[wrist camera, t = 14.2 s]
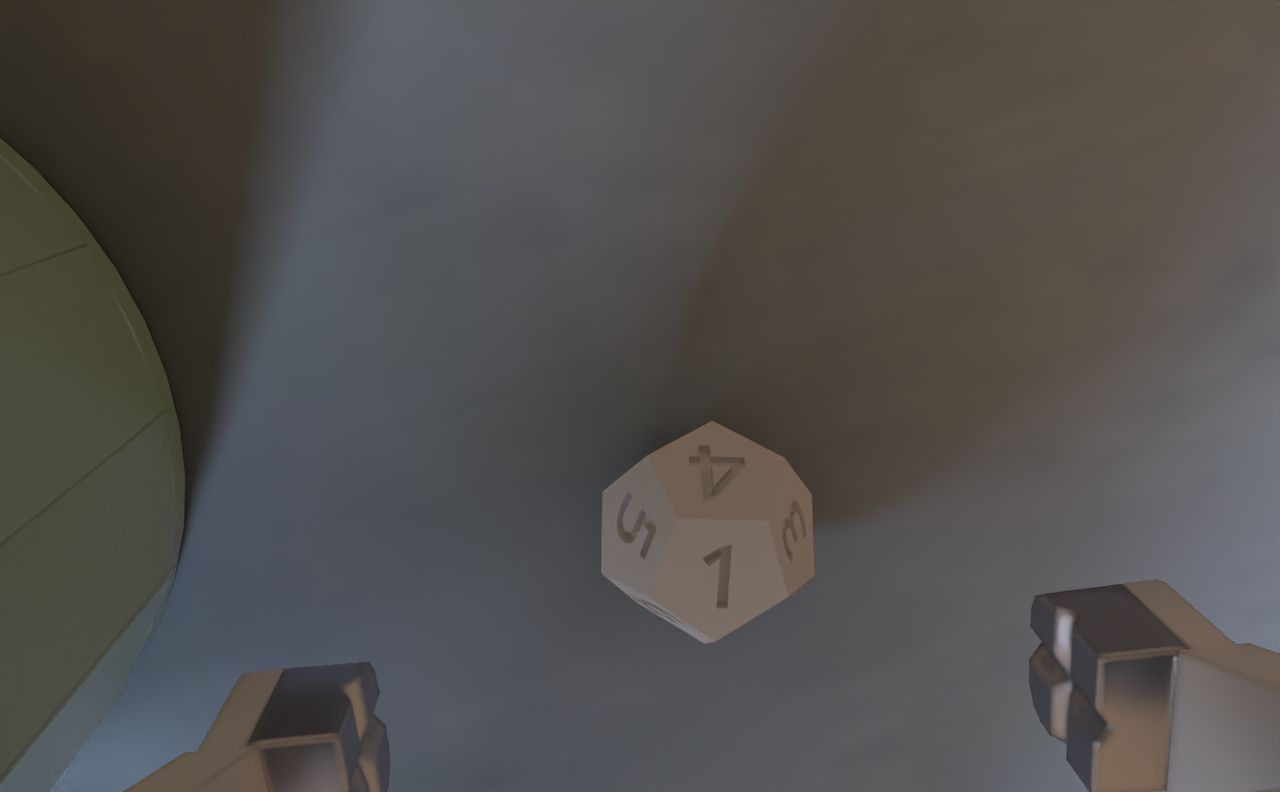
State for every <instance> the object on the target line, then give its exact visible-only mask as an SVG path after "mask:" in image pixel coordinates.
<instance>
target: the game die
mask: <svg viewBox="0 0 1280 792" xmlns="http://www.w3.org/2000/svg"><path fill="white" fill-rule="evenodd" d="M601 574H602V575H604V576H605V577H606V578H607V579H609V580H610V581H611V582H612V583H614V584H615V585H616V586H617V587H618V588H620V589H621V590H622V591H623V592H625V593H626V594H627V595H628V596H630V597H631V598H632V599H633V600H635V601H636V602H637V603H638V604H640V605H642V606H643V607H645V608H647V609H648V610H650V611H651V612H653V613H655V614H656V615H658V616H660V617H661V618H663V619H665V620H666V621H668V622H670V623H671V624H673V625H675V626H676V627H678V628H679V629H681V630H683V631H684V632H686V633H688V634H689V635H691V636H693V637H694V638H696V639H698V640H699V641H701V642H703V643H704V644H705V643H712V642H716V641H718V640H719V639H721V638H722V637H724V636H726V635H727V634H729V633H731V632H732V631H734V630H736V629H737V628H739V627H740V626H742V625H744V624H745V623H747V622H749V621H750V620H752V619H753V618H755V617H757V616H758V615H760V614H762V613H763V612H765V611H767V610H768V609H770V608H771V607H773V606H775V605H776V604H778V603H780V602H781V601H783V600H784V599H786V598H788V597H789V596H790V595H792V594H793V593H794V592H795V591H797V590H798V589H799V588H800V587H801V586H803V585H804V584H805V583H806V582H808V581H809V580H810V579H811V578H813V577H814V576H815V568H814V540H813V512H812V494H811V493H810V492H809V490H808V489H807V488H806V486H805V485H804V483H803V482H802V481H801V479H800V478H799V477H798V475H797V474H796V473H795V471H794V470H793V469H792V467H791V466H790V465H789V463H788V462H787V461H786V459H785V458H784V457H782V456H780V455H778V454H776V453H774V452H772V451H771V450H769V449H767V448H765V447H763V446H761V445H759V444H757V443H755V442H753V441H751V440H749V439H747V438H745V437H743V436H741V435H739V434H737V433H735V432H733V431H731V430H729V429H727V428H725V427H723V426H722V425H720V424H718V423H716V422H714V421H711V422H709V423H707V424H705V425H703V426H701V427H700V428H698V429H696V430H694V431H692V432H690V433H688V434H686V435H684V436H683V437H681V438H679V439H677V440H675V441H673V442H671V443H669V444H668V445H666V446H664V447H662V448H660V449H658V450H656V451H654V452H653V453H651V454H649V455H647V456H646V457H645V458H643V459H642V460H641V461H640V462H638V463H637V464H636V465H635V466H633V467H632V468H631V469H630V470H629V471H627V472H626V473H625V474H624V475H622V476H621V477H620V478H619V479H617V480H616V481H615V482H614V483H613V484H611V485H610V486H609V487H608V488H606V489H605V490H604V491H603V492H602V557H601Z"/></svg>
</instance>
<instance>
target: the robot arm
mask: <svg viewBox="0 0 1280 792" xmlns="http://www.w3.org/2000/svg"><path fill="white" fill-rule="evenodd" d="M1030 627H1031V628H1032V629H1033V631H1034V632H1035V633H1036V634H1037V636H1038V637H1039V638H1040V640H1041V641H1042V643H1041V644H1040V645H1039V647H1038V648H1037V649H1036V651H1035V652H1034V653H1033V655H1032V656H1031V657H1030V659H1029V684H1030V689H1031V694H1032V699H1033V703H1034V707H1035V709H1036V712H1037V714H1038V716H1039V719H1040V721H1041V723H1042V724H1043V726H1044V727H1045V729H1046V730H1047V732H1048V733H1049V735H1051V736H1053V737H1055V738H1056V739H1058V740H1060V741H1062V742H1064V743H1066V744H1067V755H1066V759H1067V761H1068V762H1069V764H1070V765H1071V766H1072V768H1073V769H1074V771H1075V772H1076V773H1077V775H1078V776H1079V778H1080V779H1081V781H1082V782H1083V783H1084V785H1085V786H1086V788H1087V789H1088V790H1089V792H1154V791H1167V792H1280V653H1277V652H1274V651H1271V650H1268V649H1265V648H1262V647H1259V646H1256V645H1253V644H1250V643H1245V644H1235V643H1234V642H1233V641H1231V640H1230V639H1229V638H1228V637H1227V636H1226V635H1225V634H1223V633H1222V632H1221V631H1220V630H1219V629H1218V628H1217V627H1216V626H1214V625H1213V624H1212V623H1211V622H1210V621H1209V620H1208V619H1206V618H1205V617H1204V616H1203V615H1202V614H1201V613H1200V612H1198V611H1197V610H1196V609H1195V608H1194V607H1193V606H1192V605H1191V604H1189V603H1188V602H1187V601H1186V600H1185V599H1184V598H1183V597H1181V596H1180V595H1179V594H1178V593H1177V592H1176V591H1175V590H1173V589H1172V588H1171V587H1170V586H1169V585H1168V584H1167V583H1166V582H1163V581H1159V580H1156V579H1154V580H1147V581H1140V582H1133V583H1126V584H1117V585H1109V586H1101V587H1094V588H1086V589H1078V590H1070V591H1062V592H1054V593H1046V594H1041V595H1036V596H1035V598H1034V601H1033V604H1032V608H1031V626H1030ZM379 694H380V693H379V688H378V684H377V679H376V674H375V670H374V668H373V667H372V665H371V664H370V662H358V663H346V664H334V665H322V666H310V667H298V668H289V669H285V668H280V669H271V670H263V671H255V672H248V673H245V674H242V675H241V676H240V677H239V679H238V681H237V682H236V684H235V686H234V688H233V689H232V691H231V693H230V695H229V696H228V698H227V700H226V702H225V703H224V705H223V707H222V709H221V710H220V712H219V714H218V716H217V717H216V719H215V721H214V723H213V724H212V726H211V728H210V730H209V731H208V733H207V735H206V737H205V738H204V740H203V742H202V744H201V745H200V747H199V749H198V751H197V752H188V753H183V754H182V755H180V756H179V757H177V758H176V759H174V760H172V761H171V762H169V763H168V764H166V765H165V766H163V767H161V768H160V769H158V770H157V771H155V772H154V773H152V774H150V775H149V776H147V777H146V778H144V779H143V780H141V781H139V782H138V783H136V784H135V785H133V786H132V787H130V788H128V789H127V790H125V791H124V792H388V788H389V774H390V754H389V742H388V736H387V731H386V725H385V724H384V723H383V722H382V721H381V720H379V719H378V718H377V717H376V716H375V715H374V714H373V713H374V710H375V706H376V703H377V700H378V697H379Z"/></svg>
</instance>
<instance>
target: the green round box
mask: <svg viewBox="0 0 1280 792" xmlns="http://www.w3.org/2000/svg"><path fill="white" fill-rule="evenodd" d="M184 509H185V470H184V461H183V452H182V443H181V435H180V426H179V422H178V418H177V414H176V410H175V406H174V402H173V399H172V395H171V391H170V387H169V383H168V379H167V375H166V372H165V369H164V367H163V364H162V362H161V359H160V357H159V354H158V352H157V349H156V347H155V344H154V342H153V339H152V337H151V335H150V332H149V330H148V327H147V325H146V322H145V320H144V318H143V316H142V314H141V312H140V311H139V309H138V307H137V305H136V303H135V302H134V300H133V298H132V296H131V294H130V293H129V291H128V289H127V287H126V285H125V284H124V282H123V280H122V278H121V276H120V275H119V273H118V271H117V269H116V267H115V266H114V265H113V263H112V262H111V260H110V259H109V258H108V256H107V255H106V254H105V252H104V251H103V249H102V248H101V247H100V245H99V244H98V242H97V241H96V240H95V238H94V237H93V235H92V234H91V233H90V231H89V230H88V229H87V227H86V226H85V224H84V223H83V222H82V220H81V219H80V217H79V216H78V215H77V214H76V213H75V212H74V211H73V210H72V209H71V207H70V206H69V205H68V204H67V203H66V202H65V201H64V200H63V199H62V198H61V196H60V195H59V194H58V193H57V192H56V191H55V190H54V189H53V188H52V187H51V185H50V184H49V183H48V182H47V181H46V180H45V179H44V178H43V177H42V176H41V174H40V173H39V172H38V171H37V170H36V169H35V168H34V167H33V166H32V165H30V164H29V163H28V162H27V161H26V160H25V159H24V158H23V157H21V156H20V155H19V154H18V153H17V152H16V151H15V150H13V149H12V148H11V147H10V146H9V145H8V144H7V143H5V142H4V141H3V140H2V139H1V138H0V792H49V791H50V789H51V788H52V787H53V785H54V784H55V783H56V781H57V780H58V779H59V777H60V776H61V775H62V773H63V772H64V771H65V769H66V768H67V767H68V765H69V764H70V763H71V761H72V760H73V759H74V757H75V756H76V754H77V753H78V752H79V750H80V749H81V748H82V746H83V745H84V744H85V742H86V741H87V740H88V738H89V737H90V736H91V734H92V733H93V732H94V730H95V729H96V728H97V726H98V725H99V724H100V722H101V721H102V719H103V718H104V717H105V715H106V714H107V713H108V711H109V710H110V709H111V707H112V706H113V705H114V703H115V702H116V701H117V699H118V698H119V696H120V695H121V693H122V691H123V688H124V686H125V684H126V681H127V679H128V677H129V674H130V672H131V670H132V668H133V665H134V663H135V662H136V661H137V659H138V658H139V656H140V654H141V653H142V651H143V649H144V647H145V645H146V643H147V641H148V639H149V638H150V636H151V634H152V632H153V630H154V628H155V626H156V625H157V623H158V621H159V619H160V617H161V614H162V611H163V608H164V605H165V602H166V600H167V597H168V594H169V591H170V588H171V585H172V582H173V579H174V577H175V574H176V568H177V563H178V557H179V552H180V546H181V540H182V535H183V529H184Z"/></svg>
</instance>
